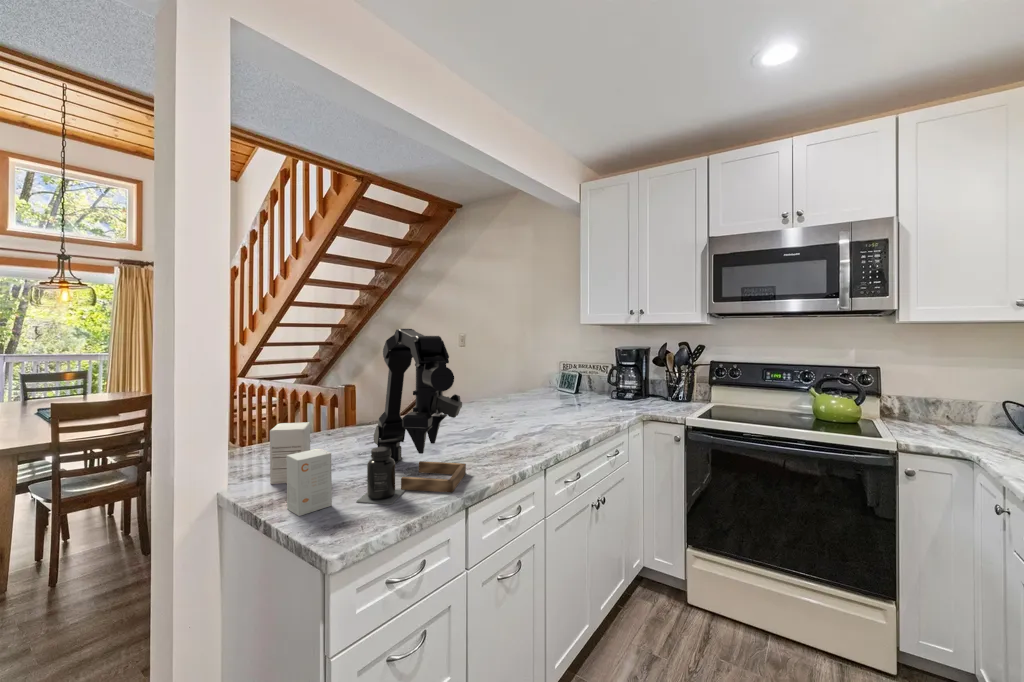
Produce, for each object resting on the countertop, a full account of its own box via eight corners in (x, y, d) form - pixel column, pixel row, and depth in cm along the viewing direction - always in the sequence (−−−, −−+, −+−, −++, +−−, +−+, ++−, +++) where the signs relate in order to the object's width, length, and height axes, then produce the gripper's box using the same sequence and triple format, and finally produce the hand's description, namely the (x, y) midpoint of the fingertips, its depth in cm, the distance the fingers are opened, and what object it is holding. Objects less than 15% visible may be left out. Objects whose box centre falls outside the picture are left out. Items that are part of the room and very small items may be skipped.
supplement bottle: (400, 492, 114) (400, 446, 114) (384, 502, 108) (384, 454, 107) (378, 489, 117) (378, 444, 116) (361, 498, 110) (361, 451, 110)
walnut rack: (401, 489, 117) (401, 478, 117) (420, 471, 132) (420, 461, 132) (452, 492, 116) (452, 481, 116) (465, 473, 130) (465, 463, 130)
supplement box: (277, 473, 129) (277, 422, 128) (311, 471, 131) (310, 421, 130) (268, 484, 120) (268, 430, 119) (304, 482, 122) (304, 428, 122)
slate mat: (356, 502, 109) (356, 501, 108) (372, 489, 117) (372, 488, 117) (391, 504, 107) (391, 503, 107) (405, 491, 116) (405, 490, 116)
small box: (319, 499, 110) (319, 447, 110) (332, 506, 106) (332, 452, 106) (286, 509, 104) (285, 454, 104) (298, 517, 100) (297, 460, 100)
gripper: (448, 392, 100) (448, 461, 100) (467, 382, 118) (467, 440, 119) (401, 391, 101) (401, 458, 101) (427, 381, 119) (427, 438, 120)
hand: (427, 448), depth 110 cm, fingers open, 9 cm apart
